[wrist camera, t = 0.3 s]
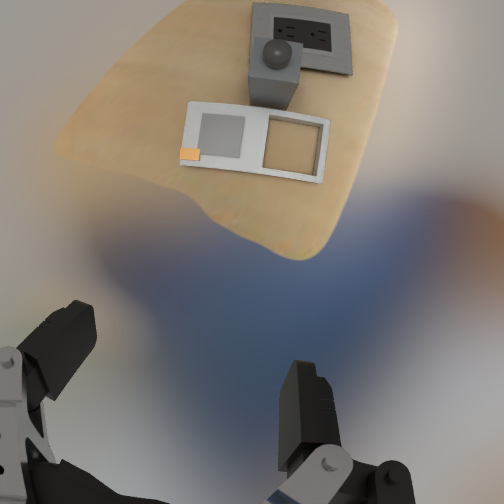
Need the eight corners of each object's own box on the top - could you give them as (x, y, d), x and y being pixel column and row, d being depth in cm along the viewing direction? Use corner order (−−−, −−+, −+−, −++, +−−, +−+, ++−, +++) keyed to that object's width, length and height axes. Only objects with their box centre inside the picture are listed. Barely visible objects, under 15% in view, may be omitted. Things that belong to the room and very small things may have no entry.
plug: (255, 74, 31) (254, 26, 18) (290, 79, 31) (306, 34, 18) (250, 105, 32) (247, 68, 19) (285, 110, 32) (302, 76, 19)
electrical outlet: (249, 68, 31) (249, 61, 28) (253, 9, 28) (253, 1, 26) (347, 79, 31) (353, 74, 28) (344, 20, 28) (349, 13, 26)
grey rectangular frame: (193, 105, 32) (187, 100, 29) (325, 123, 32) (331, 119, 29) (184, 165, 34) (178, 164, 31) (317, 183, 34) (322, 183, 32)
